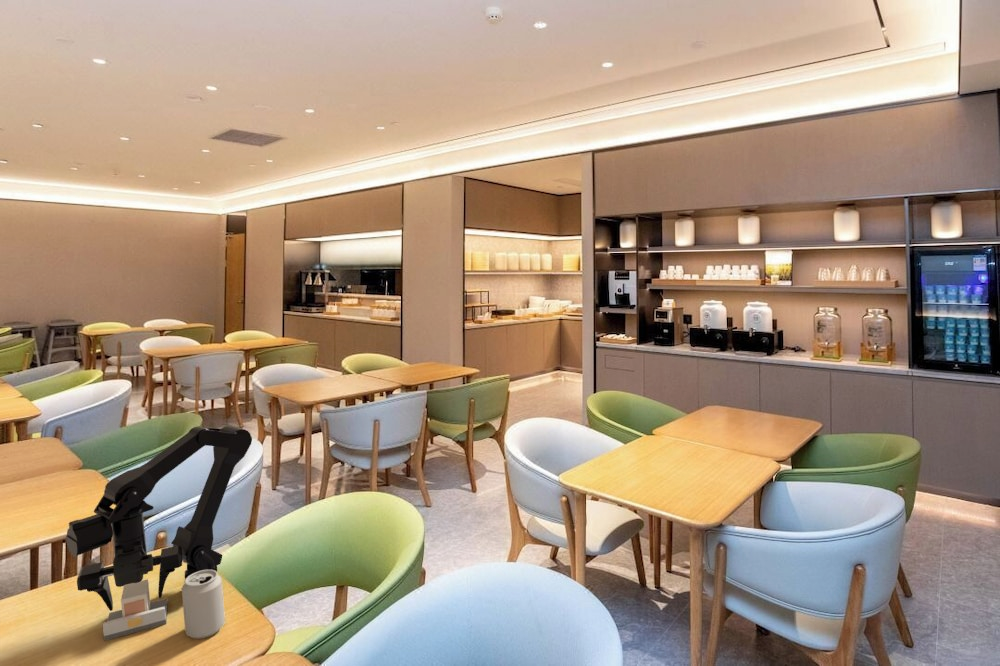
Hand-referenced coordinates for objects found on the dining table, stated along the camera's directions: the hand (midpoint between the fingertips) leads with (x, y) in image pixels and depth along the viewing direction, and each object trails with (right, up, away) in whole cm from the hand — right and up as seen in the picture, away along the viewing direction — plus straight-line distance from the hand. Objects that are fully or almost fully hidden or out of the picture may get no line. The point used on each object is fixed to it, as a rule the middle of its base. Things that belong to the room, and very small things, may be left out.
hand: (136, 603), depth 123 cm
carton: (0, -3, 0) cm, 3 cm away
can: (+17, -4, -3) cm, 18 cm away
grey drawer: (0, -4, 0) cm, 4 cm away
